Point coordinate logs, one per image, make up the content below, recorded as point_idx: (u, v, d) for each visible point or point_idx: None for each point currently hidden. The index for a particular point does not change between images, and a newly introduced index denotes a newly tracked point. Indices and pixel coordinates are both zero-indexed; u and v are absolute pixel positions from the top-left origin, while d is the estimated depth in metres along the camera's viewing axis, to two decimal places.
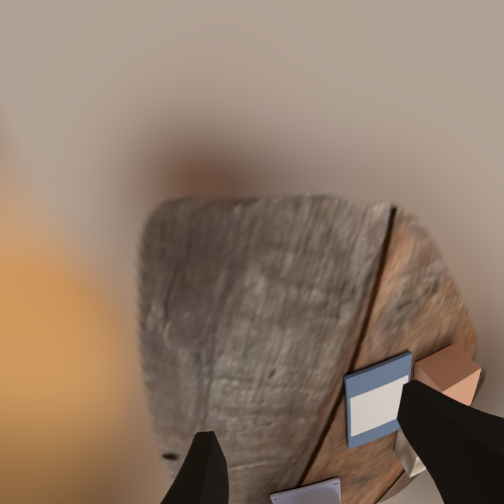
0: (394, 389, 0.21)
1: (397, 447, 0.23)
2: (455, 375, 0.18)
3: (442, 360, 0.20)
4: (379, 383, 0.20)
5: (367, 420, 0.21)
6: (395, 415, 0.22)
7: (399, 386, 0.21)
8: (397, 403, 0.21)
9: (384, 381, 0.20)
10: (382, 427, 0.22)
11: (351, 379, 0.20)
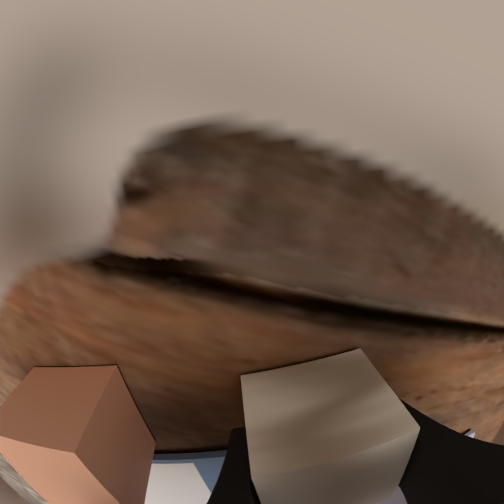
0: None
1: None
2: None
3: None
4: None
5: (185, 500, 0.11)
6: (187, 473, 0.11)
7: None
8: (153, 473, 0.10)
9: None
10: None
11: None
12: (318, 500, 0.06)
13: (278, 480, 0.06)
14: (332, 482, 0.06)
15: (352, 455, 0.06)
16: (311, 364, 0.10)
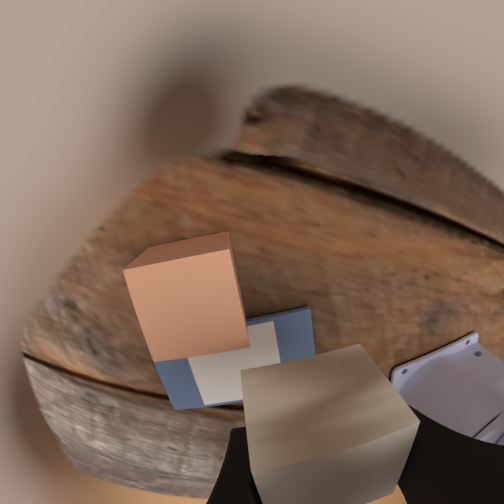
0: None
1: None
2: None
3: None
4: (186, 376, 0.17)
5: None
6: (266, 336, 0.17)
7: None
8: None
9: (185, 369, 0.17)
10: (287, 350, 0.17)
11: (176, 404, 0.18)
12: (318, 495, 0.06)
13: (278, 473, 0.06)
14: (332, 476, 0.06)
15: (352, 448, 0.06)
16: (311, 359, 0.10)
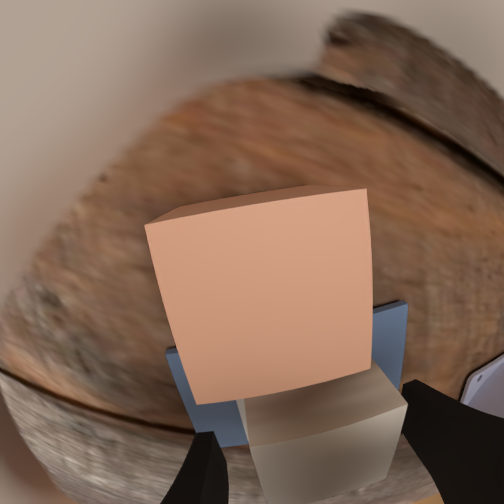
0: None
1: None
2: None
3: None
4: (226, 407, 0.11)
5: None
6: None
7: None
8: None
9: None
10: None
11: None
12: (313, 476, 0.07)
13: (275, 451, 0.06)
14: (326, 456, 0.07)
15: (344, 427, 0.06)
16: None
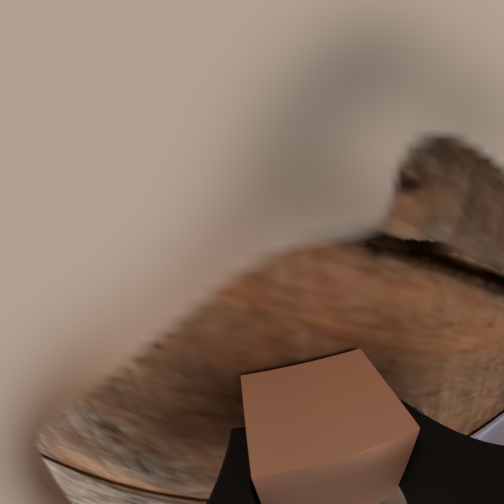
0: None
1: None
2: None
3: None
4: None
5: None
6: None
7: None
8: None
9: None
10: None
11: None
12: None
13: None
14: None
15: None
16: None
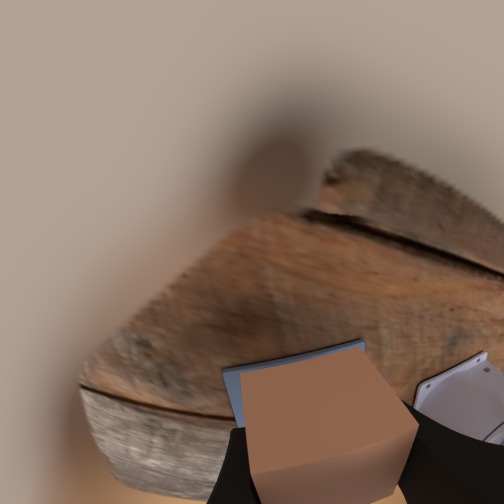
0: None
1: None
2: None
3: None
4: None
5: None
6: None
7: None
8: None
9: None
10: None
11: (241, 425, 0.20)
12: None
13: None
14: None
15: None
16: None
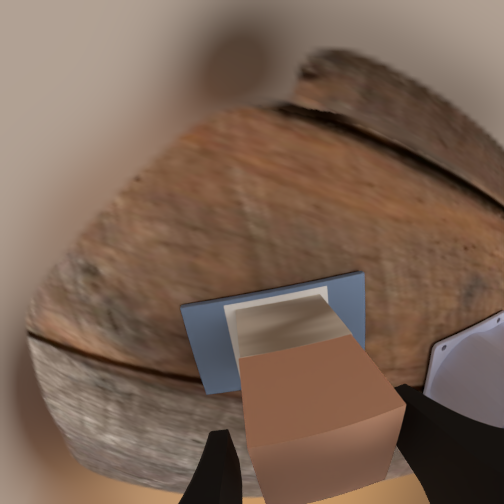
0: None
1: None
2: None
3: None
4: (225, 353, 0.16)
5: None
6: None
7: None
8: None
9: (225, 344, 0.16)
10: None
11: (208, 388, 0.16)
12: None
13: None
14: None
15: None
16: (284, 302, 0.15)
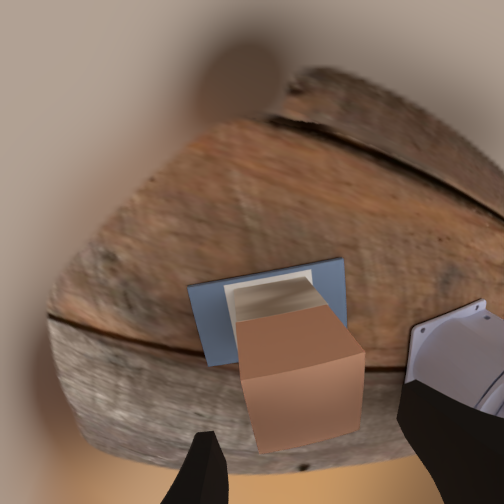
0: None
1: None
2: None
3: None
4: (225, 327, 0.19)
5: None
6: None
7: None
8: None
9: (224, 320, 0.19)
10: None
11: (210, 360, 0.19)
12: None
13: None
14: None
15: None
16: (274, 282, 0.18)
